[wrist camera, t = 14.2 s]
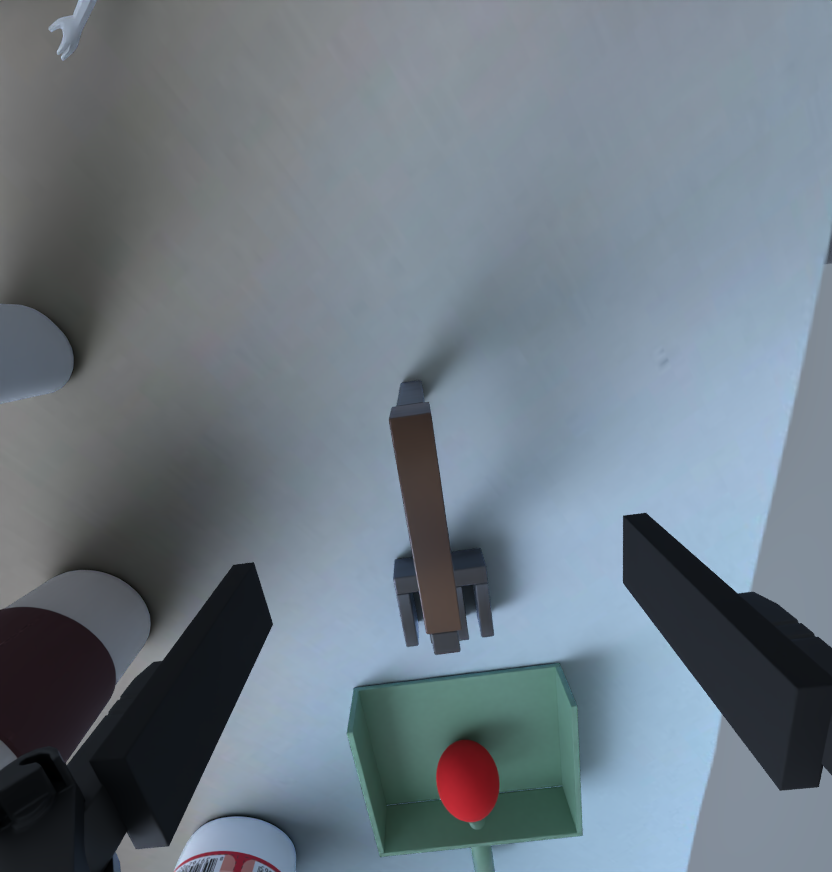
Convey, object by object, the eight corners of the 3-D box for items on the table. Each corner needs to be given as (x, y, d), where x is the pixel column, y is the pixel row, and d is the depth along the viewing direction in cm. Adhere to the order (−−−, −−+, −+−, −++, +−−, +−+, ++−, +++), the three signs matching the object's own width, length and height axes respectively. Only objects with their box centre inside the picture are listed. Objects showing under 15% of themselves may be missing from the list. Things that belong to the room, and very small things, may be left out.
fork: (361, 388, 23) (335, 426, 15) (460, 373, 22) (485, 404, 15) (407, 624, 27) (404, 745, 20) (488, 613, 27) (518, 731, 19)
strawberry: (512, 824, 25) (494, 816, 29) (501, 736, 28) (486, 739, 32) (443, 828, 25) (434, 820, 28) (438, 739, 28) (430, 741, 31)
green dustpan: (353, 687, 29) (346, 733, 26) (559, 662, 28) (577, 706, 25) (398, 866, 35) (396, 921, 32) (569, 848, 34) (585, 902, 31)
